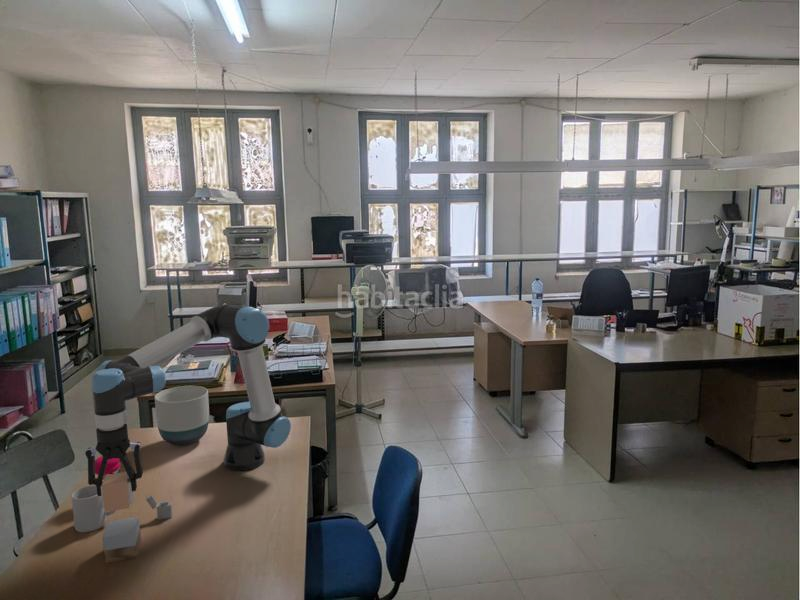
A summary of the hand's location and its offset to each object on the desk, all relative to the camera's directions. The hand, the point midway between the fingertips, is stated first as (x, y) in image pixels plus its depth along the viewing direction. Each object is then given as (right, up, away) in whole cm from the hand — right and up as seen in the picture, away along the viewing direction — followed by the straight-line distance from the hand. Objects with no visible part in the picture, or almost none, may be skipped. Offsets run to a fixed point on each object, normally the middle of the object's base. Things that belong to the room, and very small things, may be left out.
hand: (118, 503), depth 153 cm
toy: (-19, -10, +31) cm, 38 cm away
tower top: (0, -11, +2) cm, 11 cm away
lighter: (+3, -12, +19) cm, 23 cm away
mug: (-15, -13, +16) cm, 25 cm away
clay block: (0, 0, 0) cm, 0 cm away
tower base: (0, -15, +3) cm, 15 cm away
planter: (-11, -3, +74) cm, 75 cm away
